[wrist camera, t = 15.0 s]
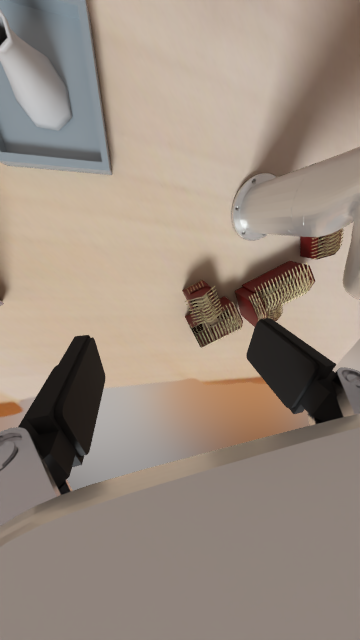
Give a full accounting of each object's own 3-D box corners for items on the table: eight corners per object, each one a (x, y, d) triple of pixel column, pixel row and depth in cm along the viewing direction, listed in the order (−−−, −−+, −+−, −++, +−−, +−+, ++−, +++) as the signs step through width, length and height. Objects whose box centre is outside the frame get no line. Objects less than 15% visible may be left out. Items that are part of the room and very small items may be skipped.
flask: (-4, 59, 21) (-101, -54, 12) (51, 46, 21) (-8, -72, 13) (36, 138, 25) (-17, 92, 16) (82, 125, 25) (53, 75, 17)
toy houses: (197, 340, 54) (208, 362, 45) (170, 289, 43) (178, 305, 34) (321, 278, 52) (356, 289, 43) (326, 208, 41) (376, 203, 32)
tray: (89, 15, 21) (84, -8, 19) (112, 174, 29) (109, 170, 27) (-65, -26, 18) (-92, -59, 16) (7, 165, 26) (-4, 160, 24)
